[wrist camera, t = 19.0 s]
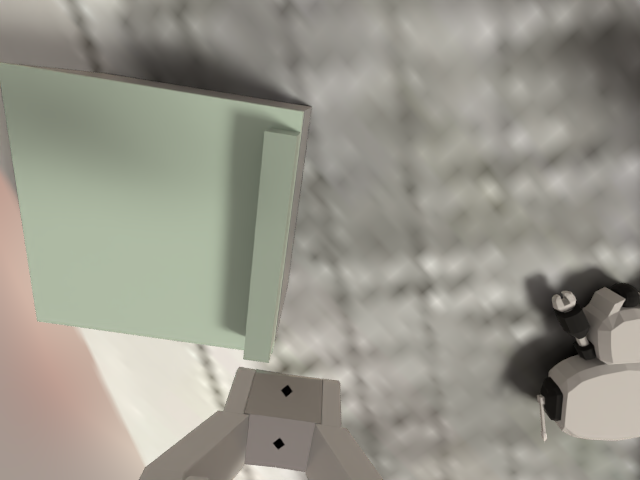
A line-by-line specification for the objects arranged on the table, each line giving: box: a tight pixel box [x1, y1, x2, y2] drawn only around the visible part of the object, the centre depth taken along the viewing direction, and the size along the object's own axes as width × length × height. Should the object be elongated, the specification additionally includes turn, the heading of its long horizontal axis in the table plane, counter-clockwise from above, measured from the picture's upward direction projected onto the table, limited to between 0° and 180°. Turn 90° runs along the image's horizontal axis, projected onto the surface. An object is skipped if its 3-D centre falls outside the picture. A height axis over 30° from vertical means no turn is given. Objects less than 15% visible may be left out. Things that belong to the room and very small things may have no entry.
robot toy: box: [537, 283, 640, 442], centre depth 32 cm, size 12×4×15 cm
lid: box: [0, 62, 304, 363], centre depth 20 cm, size 15×15×3 cm
